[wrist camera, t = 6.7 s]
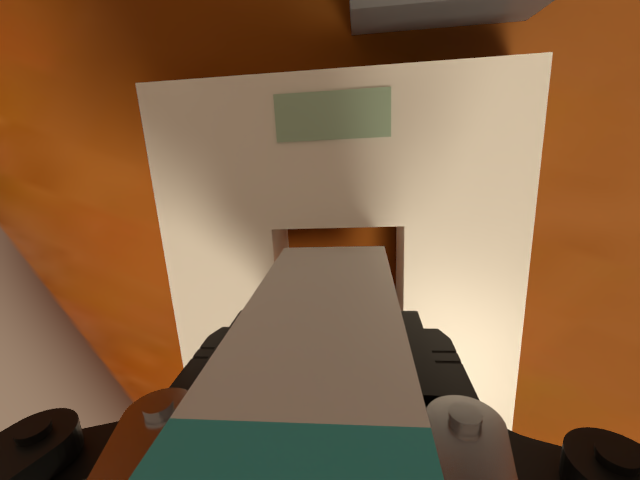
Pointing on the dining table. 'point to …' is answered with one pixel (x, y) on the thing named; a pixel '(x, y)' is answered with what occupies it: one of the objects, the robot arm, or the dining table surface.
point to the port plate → (358, 189)
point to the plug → (306, 383)
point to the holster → (436, 13)
